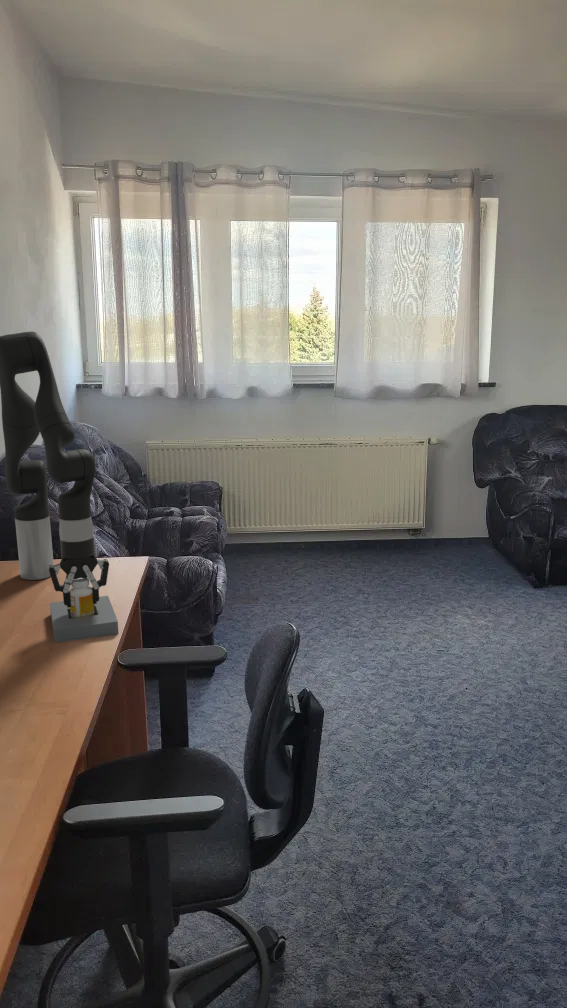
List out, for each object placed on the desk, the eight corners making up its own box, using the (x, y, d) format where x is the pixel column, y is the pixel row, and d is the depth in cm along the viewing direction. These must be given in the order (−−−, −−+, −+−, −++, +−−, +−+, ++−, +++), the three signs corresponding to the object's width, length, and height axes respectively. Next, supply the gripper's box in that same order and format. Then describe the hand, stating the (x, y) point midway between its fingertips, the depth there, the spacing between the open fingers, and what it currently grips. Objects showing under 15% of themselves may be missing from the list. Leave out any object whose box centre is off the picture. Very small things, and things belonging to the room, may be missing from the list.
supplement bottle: (97, 614, 174) (95, 576, 172) (89, 623, 169) (87, 583, 166) (76, 613, 174) (73, 575, 172) (67, 622, 169) (64, 583, 167)
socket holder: (50, 614, 178) (49, 602, 177) (108, 606, 182) (108, 595, 182) (55, 642, 161) (53, 630, 160) (118, 633, 166) (117, 621, 165)
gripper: (44, 543, 161) (51, 614, 165) (110, 537, 166) (114, 606, 170) (43, 534, 168) (49, 603, 172) (106, 528, 173) (110, 595, 177)
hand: (81, 604), depth 171 cm, fingers closed on supplement bottle, 5 cm apart
